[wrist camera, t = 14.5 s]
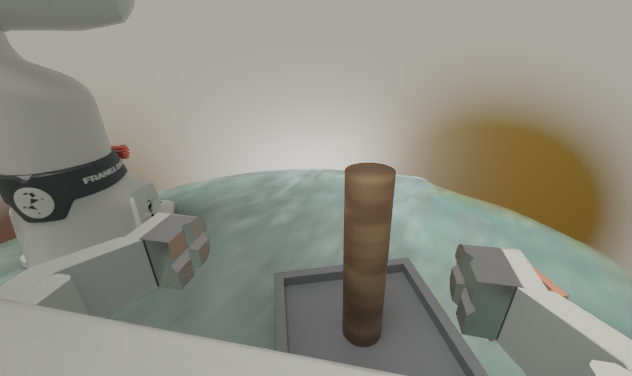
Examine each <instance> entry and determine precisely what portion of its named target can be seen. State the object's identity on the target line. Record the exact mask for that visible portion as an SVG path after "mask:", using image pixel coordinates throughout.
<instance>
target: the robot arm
mask: <svg viewBox="0 0 632 376" xmlns="http://www.w3.org/2000/svg"><path fill="white" fill-rule="evenodd" d="M134 4H135V0H0V195H1V197H2V199H3V200H4V202H5V203H6V204H8V205H10V206H11V208H10V210H9V215H10V218H11V221H12V224H13V227H14V230H15V233H16V236H17V238H18V241H19V244H20V246H21V249H22V252H23V255H22V256H21V257H20V262H21V264H22V266H23V267H25V268H27V269H26V270H25V271H23V272H22V273H20V274H18V275H17V276H15V277H14V278H12V279H10V280H9V281H7V282H6V283H4V284H2V285H1V286H0V376H407V375H401V374H396V373H391V372H386V371H380V370H375V369H370V368H365V367H360V366H354V365H349V364H344V363H339V362H333V361H328V360H323V359H318V358H312V357H307V356H302V355H297V354H291V353H286V352H281V351H276V350H270V349H265V348H260V347H255V346H249V345H244V344H239V343H234V342H228V341H223V340H218V339H212V338H207V337H202V336H197V335H191V334H186V333H181V332H176V331H170V330H165V329H160V328H155V327H149V326H144V325H139V324H134V323H128V322H123V321H118V320H112V319H107V318H109V317H111V316H112V315H114V314H116V313H117V312H119V311H121V310H122V309H124V308H125V307H127V306H129V305H130V304H132V303H134V302H135V301H137V300H139V299H140V298H142V297H144V296H145V295H147V294H148V293H150V292H152V291H153V290H155V289H157V288H158V287H166V288H174V289H183V288H184V286H185V285H186V284H187V283H188V282H189V280H190V279H191V278H192V277H193V276H194V269H196V268H198V267H200V266H202V265H203V263H204V262H205V261H206V259H207V257H208V254H209V246H210V245H209V239H208V238H207V237H206V236H205V234H204V233H203V232H204V231H205V229H206V226H205V222H204V219H202V218H201V217H197V216H189V215H181V214H175V209H176V205H175V203H174V202H173V201H169V200H160V199H159V198H158V195H157V192H156V189H155V187H154V185H153V183H152V182H150V181H149V180H146V179H143V178H141V177H138V176H136V175H133V174H132V173H129V172H127V169H126V167H125V165H124V164H123V161H122V159H127V158H128V157H129V155H128V154H129V152H128V151H129V149H128V147H126V145H120V146H111V147H110V144H109V141H108V137H107V134H106V131H105V128H104V125H103V122H102V119H101V116H100V113H99V110H98V107H97V104H96V101H95V98H94V97H93V95H92V94H91V92H90V91H89V90H88V89H87V88H86V87H85V86H84V85H83V84H82V83H80V82H79V81H77V80H75V79H74V78H72V77H70V76H67V75H64V74H62V73H60V72H57V71H54V70H51V69H48V68H46V67H43V66H39V65H36V64H33V63H30V62H28V61H26V60H25V59H23V58H22V57H21V56H20V55H19V54H18V53H17V52H16V51H15V50H14V49H13V47H12V46H11V45H10V43H9V42H8V40H7V38H6V35H5V33H4V32H5V31H10V30H58V31H60V30H61V31H63V30H64V31H67V30H69V31H74V30H75V31H83V30H88V29H94V28H99V27H106V26H110V25H115V24H120V23H124V22H125V21H126V20H127V19H128V17H129V15H130V14H131V12H132V10H133V7H134ZM121 158H122V159H121ZM455 257H456V260H457V263H458V264H457V265H456V266H454V267H453V268H452V271H451V276H450V291H451V296H452V300H453V302H455V303H456V304H457V305H458V308H457V312H456V315H457V319H458V322H459V326H460V329H461V333H462V334H465V335H470V336H476V337H481V338H486V339H492V340H497V343H498V344H499V345H500V346H501V347H502V348H503V349H504V350H505V352H506V353H507V354H508V355H509V356H510V357H511V358H512V359H513V360H514V361H515V363H516V364H517V365H518V366H519V367H520V368H521V369H522V370H523V371H524V372H525V374H526V375H527V376H632V340H631V339H629V338H627V337H626V336H624V335H623V334H621V333H620V332H618V331H616V330H615V329H613V328H612V327H610V326H608V325H607V324H605V323H604V322H602V321H601V320H599V319H597V318H596V317H594V316H593V315H591V314H589V313H588V312H586V311H585V310H583V309H582V308H580V307H578V306H577V305H575V304H574V303H572V302H570V301H569V300H567V299H566V298H564V297H563V296H561V295H559V294H558V293H556V292H551V291H548V289H547V288H546V286H545V285H544V283H543V282H542V281H541V279H540V278H539V276H538V275H537V273H536V272H535V270H534V269H533V267H532V266H531V265H530V263H529V262H528V260H527V259H526V257H525V256H524V254H523V253H522V252H521V251H520V250H518V249H511V248H494V247H482V246H471V245H460V244H459V246H458V248H457V250H456V254H455Z"/></svg>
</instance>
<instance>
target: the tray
mask: <svg viewBox="0 0 632 376" xmlns="http://www.w3.org/2000/svg"><path fill="white" fill-rule="evenodd" d="M342 318H343V265H341V266H332V267H324V268H315V269H307V270H298V271H290V272H281V273H275V336H276V351H281V352H286V353H291V354H297V355H302V356H307V357H312V358H318V359H323V360H328V361H333V362H339V363H344V364H349V365H354V366H360V367H365V368H370V369H375V370H380V371H386V372H391V373H396V374H401V375H407V376H488V374H487V373H486V371H485V370H484V368H483V367H482V365H481V364H480V363H479V361H478V360H477V358H476V357H475V355H474V354H473V352H472V351H471V349H470V348H469V346H468V345H467V344H466V342H465V341H464V339H463V338H462V336H461V335H460V333H459V332H458V330H457V329H456V327H455V326H454V324H453V323H452V322H451V320H450V319H449V317H448V316H447V314H446V313H445V311H444V310H443V308H442V307H441V305H440V304H439V303H438V301H437V300H436V298H435V297H434V295H433V294H432V292H431V291H430V289H429V288H428V286H427V285H426V283H425V282H424V281H423V279H422V278H421V276H420V275H419V273H418V272H417V270H416V269H415V267H414V266H413V264H412V263H411V262H410V260H409V259H408V258H401V259H392V260H388V262H387V273H386V284H385V295H384V306H383V316H382V327H381V336H380V339H379V340H378V342H377V343H375V344H374V345H372V346H369V347H359V346H355V345H353V344H351V343H350V342H349V341H348V340H347V339H346V338H345V337H344V335H343V331H342Z"/></svg>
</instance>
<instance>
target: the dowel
mask: <svg viewBox="0 0 632 376" xmlns="http://www.w3.org/2000/svg"><path fill="white" fill-rule="evenodd" d="M395 175H396V171H395V170H394V169H393V168H392V167H389V166H387V165H383V164H378V163H359V164H354V165H350V166H348V167H347V168H346V169H345V202H344V260H343V318H342V331H343V335H344V337H345V338H346V339H347V340H348V341H349V342H350V343H351V344H353V345H355V346H359V347H369V346H372V345H374V344H375V343H377V342H378V340H379V339H380V336H381V327H382V316H383V306H384V295H385V284H386V273H387V262H388V251H389V240H390V229H391V218H392V208H393V197H394V186H395Z"/></svg>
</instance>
